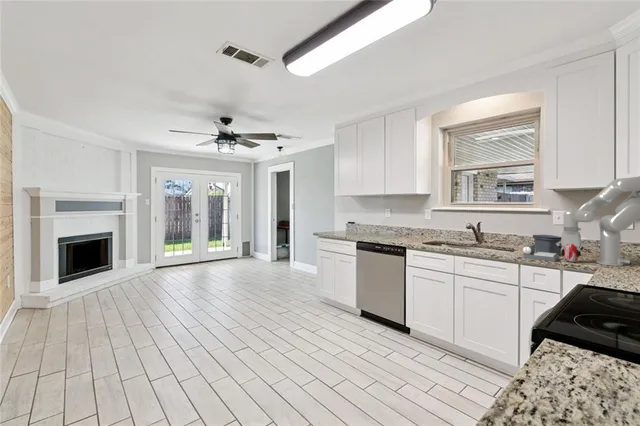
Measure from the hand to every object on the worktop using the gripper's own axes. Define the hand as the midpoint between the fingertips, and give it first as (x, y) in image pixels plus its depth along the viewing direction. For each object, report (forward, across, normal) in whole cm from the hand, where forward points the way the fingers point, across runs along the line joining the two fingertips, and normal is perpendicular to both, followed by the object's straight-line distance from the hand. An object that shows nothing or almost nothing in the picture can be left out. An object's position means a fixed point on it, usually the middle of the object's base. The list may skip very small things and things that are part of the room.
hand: (570, 256), depth 206 cm
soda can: (+4, 0, 0) cm, 4 cm away
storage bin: (+4, +17, -25) cm, 30 cm away
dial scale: (+4, +17, 0) cm, 17 cm away
